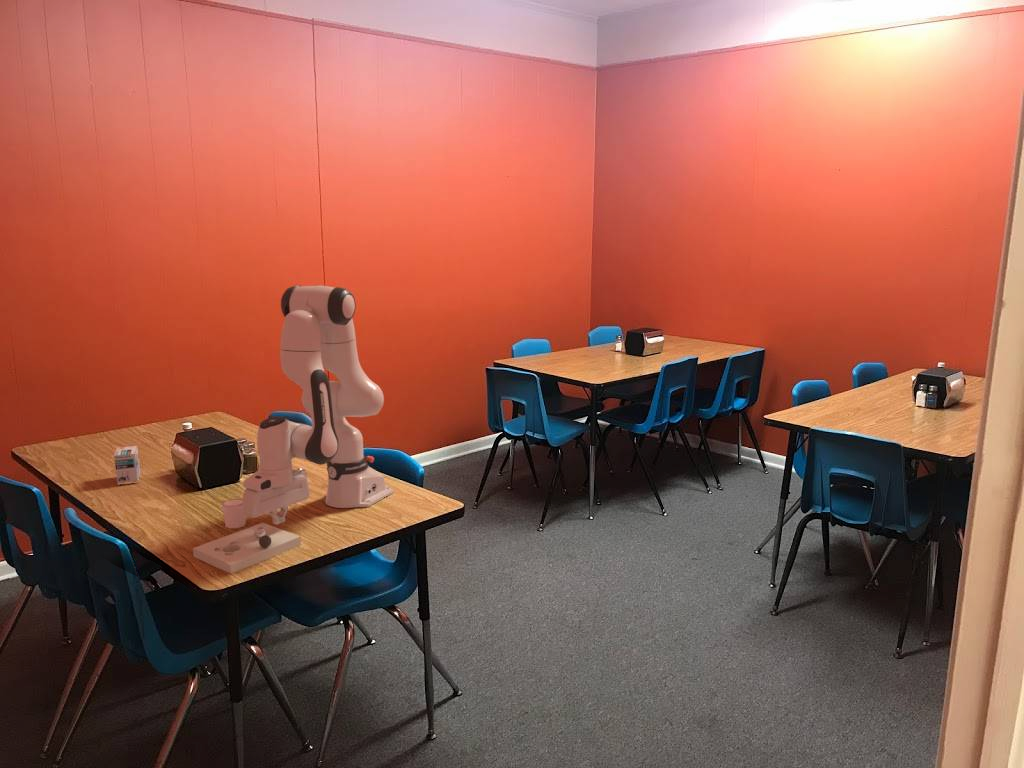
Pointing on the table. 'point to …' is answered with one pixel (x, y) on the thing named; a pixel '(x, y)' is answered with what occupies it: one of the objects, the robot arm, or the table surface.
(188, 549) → the table surface
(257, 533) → the steel ball
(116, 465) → the light bulb box
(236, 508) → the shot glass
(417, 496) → the table surface
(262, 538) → the black rubber ball
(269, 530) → the board
